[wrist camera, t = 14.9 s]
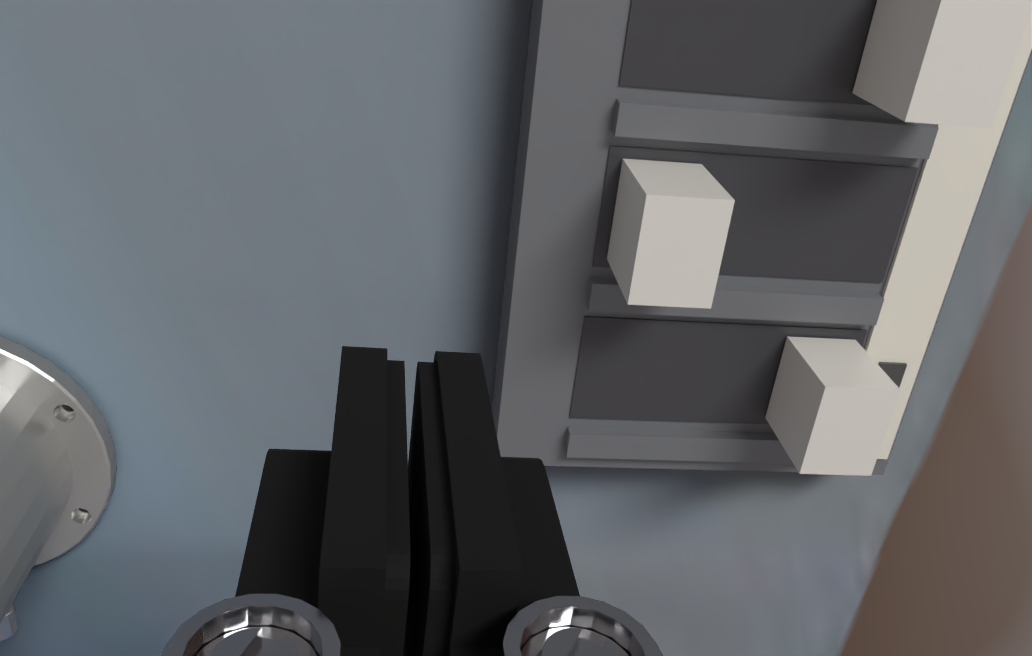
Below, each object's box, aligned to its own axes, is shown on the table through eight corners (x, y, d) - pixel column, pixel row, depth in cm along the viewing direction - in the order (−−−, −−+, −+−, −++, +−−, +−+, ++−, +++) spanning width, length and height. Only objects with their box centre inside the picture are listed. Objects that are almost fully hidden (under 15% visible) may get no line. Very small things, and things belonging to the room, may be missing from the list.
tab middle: (682, 263, 35) (711, 308, 31) (606, 258, 34) (627, 304, 31) (701, 163, 33) (734, 200, 29) (622, 158, 33) (646, 194, 29)
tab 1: (830, 420, 39) (871, 475, 35) (765, 417, 39) (799, 473, 35) (855, 339, 37) (900, 389, 34) (786, 336, 37) (825, 386, 33)
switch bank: (855, 437, 44) (889, 482, 40) (489, 425, 41) (495, 472, 38) (1032, -106, 33) (1098, -102, 29) (548, -161, 30) (563, -164, 27)
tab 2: (929, 99, 33) (991, 128, 29) (852, 93, 32) (904, 121, 29) (965, -17, 31) (1035, -1, 27) (883, -25, 30) (944, -10, 27)
